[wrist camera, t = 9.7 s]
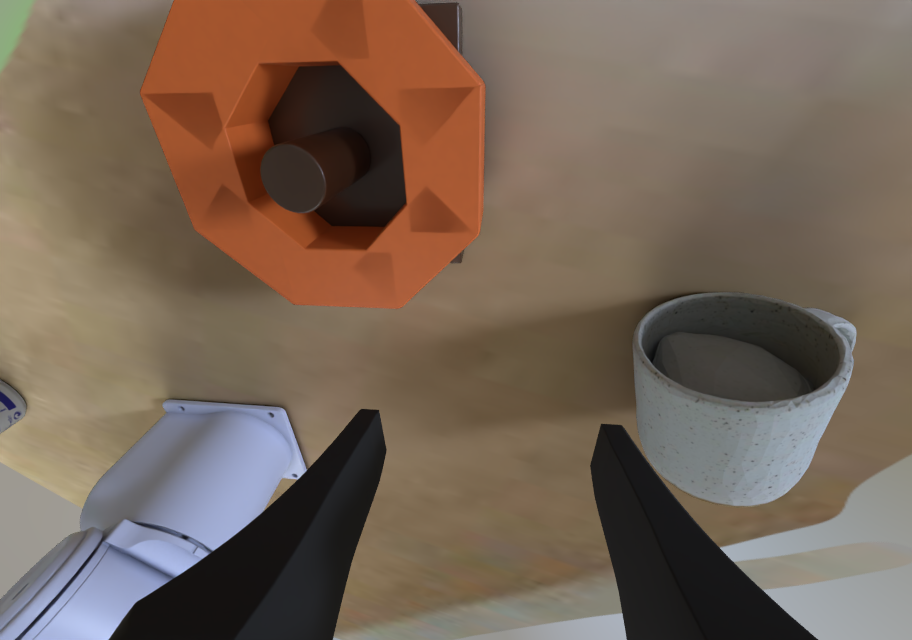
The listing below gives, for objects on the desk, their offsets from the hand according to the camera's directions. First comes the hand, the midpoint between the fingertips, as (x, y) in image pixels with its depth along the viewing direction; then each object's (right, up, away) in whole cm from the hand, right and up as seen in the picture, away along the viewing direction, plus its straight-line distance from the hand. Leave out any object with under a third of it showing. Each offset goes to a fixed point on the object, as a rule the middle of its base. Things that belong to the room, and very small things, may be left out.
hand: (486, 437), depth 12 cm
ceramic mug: (+13, +3, +9) cm, 16 cm away
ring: (-6, +11, +4) cm, 13 cm away
